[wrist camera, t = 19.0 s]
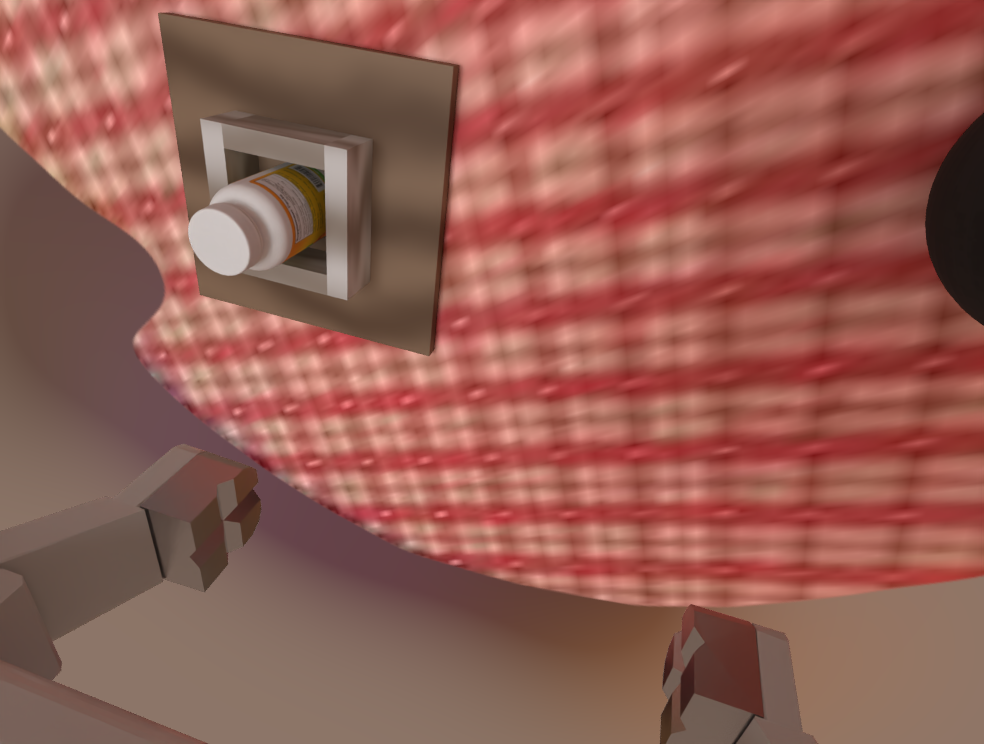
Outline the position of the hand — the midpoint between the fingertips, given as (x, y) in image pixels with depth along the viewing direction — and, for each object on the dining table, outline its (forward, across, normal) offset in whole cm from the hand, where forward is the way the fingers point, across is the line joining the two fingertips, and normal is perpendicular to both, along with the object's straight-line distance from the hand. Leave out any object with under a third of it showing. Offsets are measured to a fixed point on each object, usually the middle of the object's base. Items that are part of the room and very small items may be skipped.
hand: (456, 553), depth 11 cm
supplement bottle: (+30, +21, +6) cm, 37 cm away
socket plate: (+31, +21, +6) cm, 38 cm away
